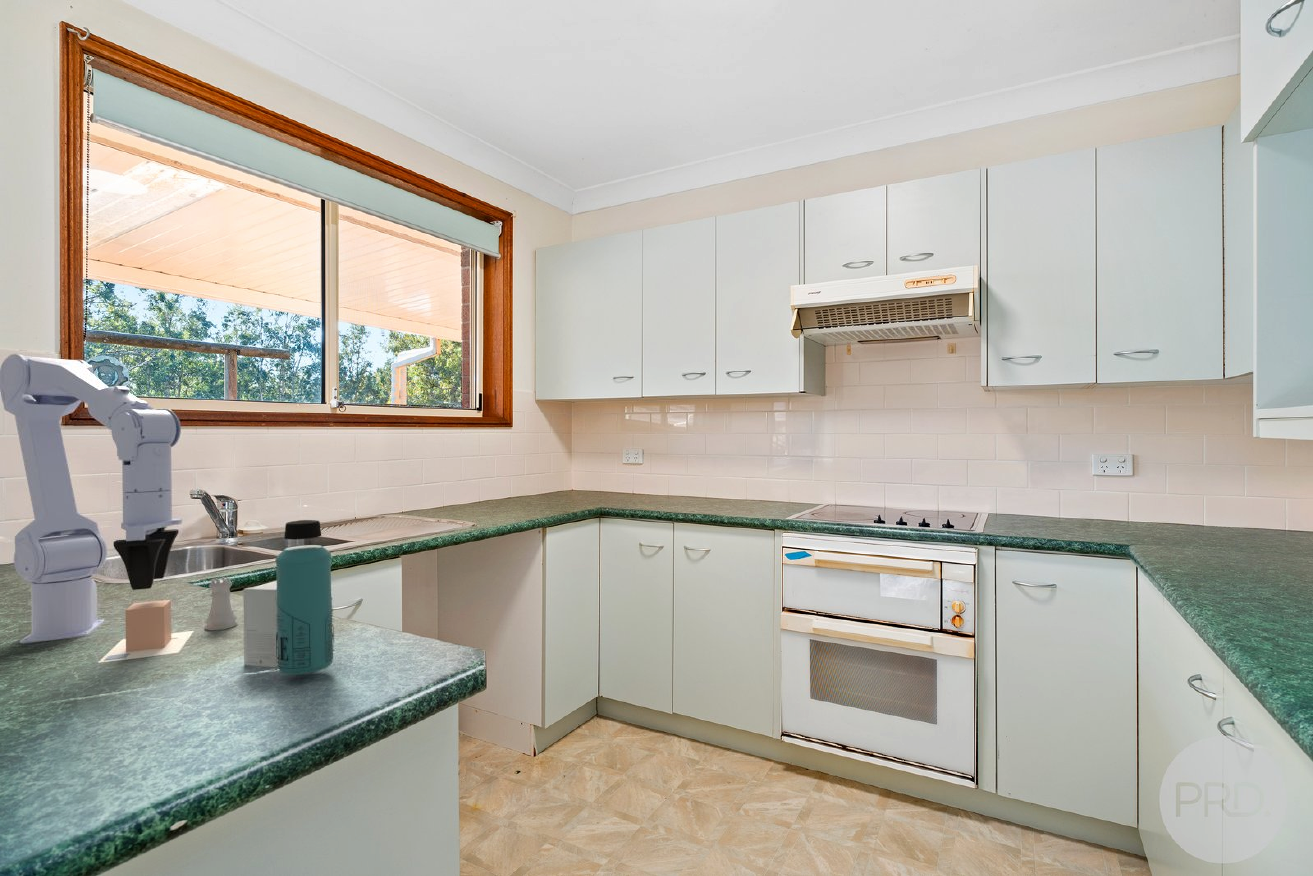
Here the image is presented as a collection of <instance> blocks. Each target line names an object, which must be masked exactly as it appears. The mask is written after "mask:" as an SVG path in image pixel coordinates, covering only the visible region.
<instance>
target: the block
mask: <svg viewBox="0 0 1313 876" xmlns="http://www.w3.org/2000/svg"><path fill="white" fill-rule="evenodd" d="M124 615H125V616H124V617H125V639H126V652H133V651H141V650H149V649H158V648H165V647H166V645H167V644H168V643H169V642H170V640H171V633H172V599H164V600H155V601H154V600H153V601H145V602H144V601H143V602H133V604H131V605H130V606H129V607H128V608H126V609H125V614H124Z"/></svg>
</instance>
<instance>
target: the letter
mask: <svg viewBox="0 0 1313 876" xmlns="http://www.w3.org/2000/svg"><path fill="white" fill-rule="evenodd" d="M194 632H195V631H194V630H190V631H181V632H171V640H170V642H169V643H168V644H167V645H166V647H165V648H158V649H149V650H141V651H133V652H126V638H123V639H121V640H120V641H119V642H118V643H117V644H115V646H114V647H112V648H111V649H110V650H109V651H108V652H107V653H106V654H105V655H104V656H103V657H102V658H100V660H99V661H98V662H97V664H102V663H103V664H104V663H110V662H119V661H124V660H132V659H133V660H134V659H141V658H148V657H157V656H163V655H164V656H165V655H166V656H167V655H173V654H178V653H179V652H181V650H182V648H183V647H184V646H185V645H186V643H187V642H188V640H189V639H190V637H192V635H193V633H194Z"/></svg>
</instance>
